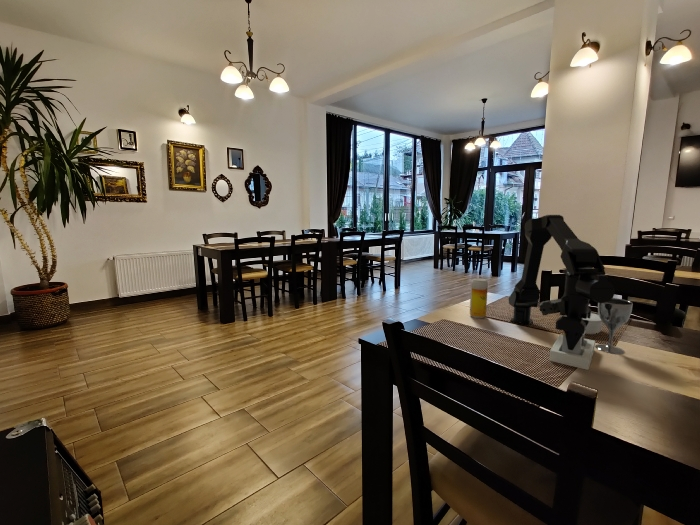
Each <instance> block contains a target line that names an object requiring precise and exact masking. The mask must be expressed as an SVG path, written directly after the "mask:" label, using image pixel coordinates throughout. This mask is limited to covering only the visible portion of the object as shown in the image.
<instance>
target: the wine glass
mask: <svg viewBox="0 0 700 525" xmlns="http://www.w3.org/2000/svg"><path fill="white" fill-rule="evenodd" d="M633 305H634V304H633V302H632V301H630V300H626V299H623V298H618V297H617V298H615V297H613V298H612V299H611V300H610V301H608V302H606V303H597V312H598V313H597V314H598V315H599V317H600V319H601V320H602V321H603V324H604V325H605V326H606V328H607V330H608V344H605V343H604V344H602V343H599V344H595V347H594V348H595V349H597V350H599V351H601V352H604V353H607V354H612V355H613V354H614V355H624V354H625V353H626V352H625V350H624V349H622V348H621V347H618V346H615V345H613V338H614V336H615V332H616V331H617V329H618V328H621V327H622V326H623V325H625V324H626V323H627V322H628V321H629V320H630V317H631V314H632V311H633Z"/></svg>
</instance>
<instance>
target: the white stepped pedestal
mask: <svg viewBox="0 0 700 525" xmlns="http://www.w3.org/2000/svg"><path fill="white" fill-rule="evenodd" d="M585 336H586V334H585V332H584V334H583V335H582V343H581V352H580V355H576V354H571V353H567V352H562V343H563V333H559V335H558V336H557V338H556V340H555V342H554V344H553V345H552V346H551V348H550V351H549V361H550V362H553V363H557V364H562V365H566V366H571V367H575V368H578V369H582V370H587V371H588V370H589V369H590V365H591V363H592V359H593V355H594V353H595V352H594V351H595V348H596V347H595V346H596V340H592V339H588V338H586V337H585Z"/></svg>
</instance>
